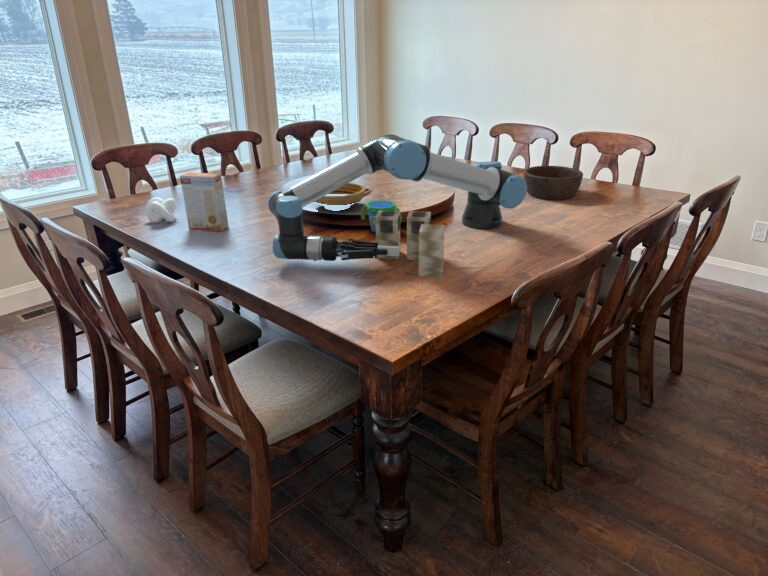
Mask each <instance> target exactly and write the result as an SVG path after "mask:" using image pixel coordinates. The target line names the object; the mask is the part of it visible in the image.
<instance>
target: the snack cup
mask: <svg viewBox="0 0 768 576" xmlns="http://www.w3.org/2000/svg"><path fill="white" fill-rule="evenodd" d="M365 209H366V210H367V213H368V218H369V220H368V221H369V224H370V225H369V226H370V230H371V231H372V232H373V233H376V218H375V217H376V215H377V213H378V211H379V210H380V211H400V216H401V222H402V220H403V216H402V213H401V210H400V208H399V207H398V206H396V203H395V202H393V201H390V200H385V199H384V200H380V199H379V200H372V201H368V202H367V203H366V204H365V205H363V206H362V207H361V211H360V218H361V221H364V220H365V219H366V215H365Z"/></svg>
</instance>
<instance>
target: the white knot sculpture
mask: <svg viewBox="0 0 768 576" xmlns="http://www.w3.org/2000/svg"><path fill="white" fill-rule="evenodd" d="M177 204H178V203H177V201H176V199H174V198H172V197H168V198H166V199H165V200H164V199H163V198H161V197H152V198H151V199H149V200H148V202H147V203H146V207H145V215H146V218H147V219H148V221H149V222H150V223H153V224H157V223H158V224H159V223H160V222H162V221H163V220H165V221H167V222H169V223H173V222H174V220H175V219H176V217H175V215H174V213H175V212H176V210H177Z"/></svg>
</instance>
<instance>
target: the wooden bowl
mask: <svg viewBox="0 0 768 576" xmlns="http://www.w3.org/2000/svg"><path fill="white" fill-rule="evenodd" d="M583 176H584V173H583V172H582V170H579V169H577V168H572V167H569V166H561V165H537V166H530V167H527V168H526V169H524V171H523V178H524V180H525V181H526V185H527V193H528V195H530V196H531V197H534V198H536V199H542V200H550V201H558V200H559V201H561V200H568V199H571V198H573V197H575V195H576V194H577V193H578V191H579V189H580V187H581V184H582V181H583Z"/></svg>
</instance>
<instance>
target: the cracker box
mask: <svg viewBox="0 0 768 576" xmlns="http://www.w3.org/2000/svg"><path fill="white" fill-rule="evenodd" d="M179 177H180V178H179V179H180V185H181V190H182V195H183V202H184V207H185V208H184V209H185V212H186V219H187V225H188V230H193V229H194V230H195V231H197V230H198V231H211V232H222V231H224V230H226V229H228V228H229V219H228V214H227V213H228V212H227V208H226V207H227V206H226V201H225V200H226V199H225V193H224V191H225V190H224V185H223V179H222V178H223V177H222V173H215V172H214V173H211V172H207V173H206V172H186V173H185V172H184V173H183V174H180V175H179Z"/></svg>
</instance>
